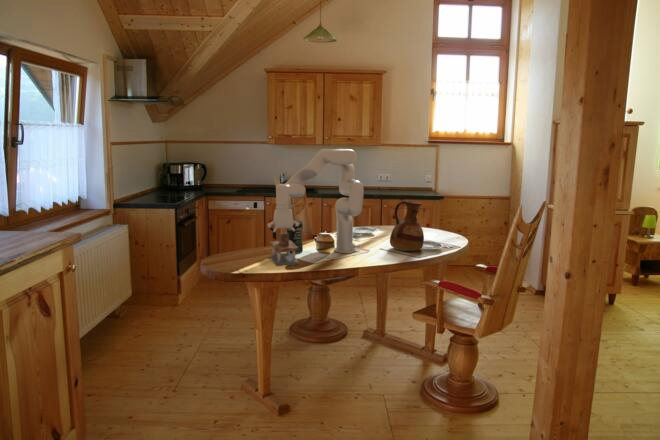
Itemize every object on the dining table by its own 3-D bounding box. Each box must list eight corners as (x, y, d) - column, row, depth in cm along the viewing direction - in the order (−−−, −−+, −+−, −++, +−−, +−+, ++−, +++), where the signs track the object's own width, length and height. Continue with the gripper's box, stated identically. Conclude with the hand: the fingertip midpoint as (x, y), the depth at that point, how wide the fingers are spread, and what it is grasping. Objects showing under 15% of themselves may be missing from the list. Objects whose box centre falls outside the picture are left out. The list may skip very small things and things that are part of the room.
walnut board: (290, 242, 294) (290, 229, 292) (298, 250, 275) (298, 236, 274) (269, 244, 290) (269, 230, 289) (276, 252, 272) (276, 237, 270)
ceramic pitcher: (423, 254, 301) (424, 203, 295) (388, 252, 305) (389, 201, 299) (423, 247, 320) (425, 198, 314) (390, 245, 323) (392, 197, 318)
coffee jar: (290, 254, 298) (289, 222, 295) (284, 251, 305) (283, 220, 301) (305, 252, 303) (304, 221, 300) (298, 250, 310) (298, 219, 306)
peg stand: (290, 255, 295) (290, 242, 294) (298, 264, 276) (298, 250, 275) (269, 257, 292) (269, 244, 290) (276, 266, 273) (276, 252, 271)
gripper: (297, 205, 285) (297, 236, 288) (266, 206, 280) (266, 238, 283) (300, 207, 278) (300, 239, 281) (268, 208, 273) (269, 240, 276)
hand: (283, 238), depth 282 cm, fingers open, 9 cm apart
